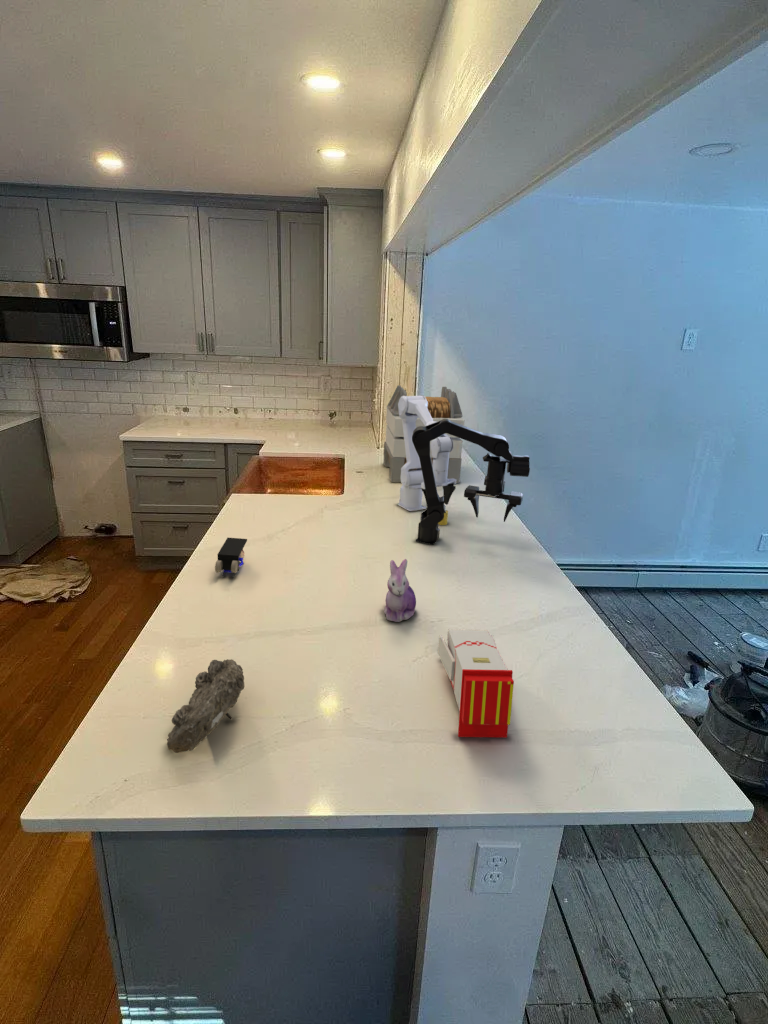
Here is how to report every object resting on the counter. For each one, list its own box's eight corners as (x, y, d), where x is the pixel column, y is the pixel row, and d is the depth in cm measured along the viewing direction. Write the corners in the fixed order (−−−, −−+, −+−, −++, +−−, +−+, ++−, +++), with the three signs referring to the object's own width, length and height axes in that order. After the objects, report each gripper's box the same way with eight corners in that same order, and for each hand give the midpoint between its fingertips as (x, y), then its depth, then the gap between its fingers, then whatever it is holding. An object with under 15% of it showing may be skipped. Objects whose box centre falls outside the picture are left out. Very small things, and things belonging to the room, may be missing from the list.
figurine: (392, 627, 141) (395, 572, 136) (374, 608, 149) (376, 556, 144) (425, 619, 145) (429, 566, 140) (405, 601, 154) (408, 550, 149)
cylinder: (445, 521, 214) (446, 509, 212) (448, 525, 210) (449, 513, 208) (434, 521, 213) (435, 509, 212) (437, 525, 209) (438, 513, 208)
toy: (488, 613, 130) (523, 677, 101) (484, 667, 133) (517, 744, 104) (435, 612, 130) (455, 676, 101) (432, 666, 133) (451, 743, 103)
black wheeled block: (238, 584, 162) (249, 557, 175) (236, 562, 158) (247, 536, 172) (215, 584, 161) (227, 556, 175) (212, 561, 158) (225, 535, 171)
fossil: (192, 660, 117) (244, 628, 112) (224, 691, 120) (276, 661, 115) (142, 746, 98) (202, 712, 93) (182, 779, 101) (242, 748, 96)
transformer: (382, 463, 289) (386, 382, 275) (445, 464, 293) (451, 384, 279) (390, 482, 257) (394, 392, 243) (460, 483, 261) (468, 394, 247)
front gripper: (527, 472, 190) (521, 516, 195) (472, 465, 196) (468, 507, 201) (523, 481, 180) (517, 526, 185) (465, 473, 186) (461, 517, 191)
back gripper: (430, 474, 198) (427, 511, 203) (462, 470, 205) (459, 505, 210) (418, 469, 204) (416, 505, 208) (451, 465, 211) (448, 500, 215)
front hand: (490, 519), depth 191 cm, fingers open, 9 cm apart
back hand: (437, 505), depth 209 cm, fingers open, 7 cm apart
